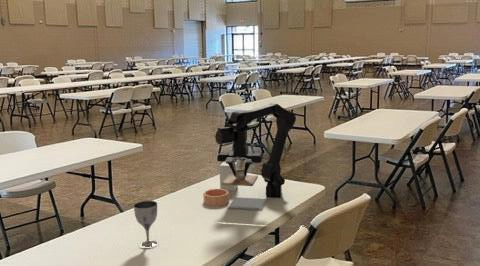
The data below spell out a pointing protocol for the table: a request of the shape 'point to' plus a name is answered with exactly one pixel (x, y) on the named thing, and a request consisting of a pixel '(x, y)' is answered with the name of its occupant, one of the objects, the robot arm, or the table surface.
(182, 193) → the table surface
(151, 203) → the wine glass
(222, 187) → the supplement box
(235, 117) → the robot arm
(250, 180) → the lid
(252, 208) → the mat
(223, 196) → the bowl
